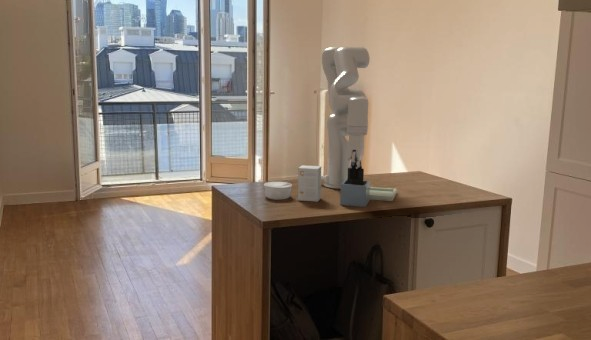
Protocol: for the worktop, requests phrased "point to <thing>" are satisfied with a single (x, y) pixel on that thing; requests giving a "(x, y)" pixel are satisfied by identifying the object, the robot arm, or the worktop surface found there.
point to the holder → (355, 194)
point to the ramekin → (277, 190)
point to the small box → (309, 183)
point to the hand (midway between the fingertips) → (355, 176)
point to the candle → (360, 176)
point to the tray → (382, 194)
